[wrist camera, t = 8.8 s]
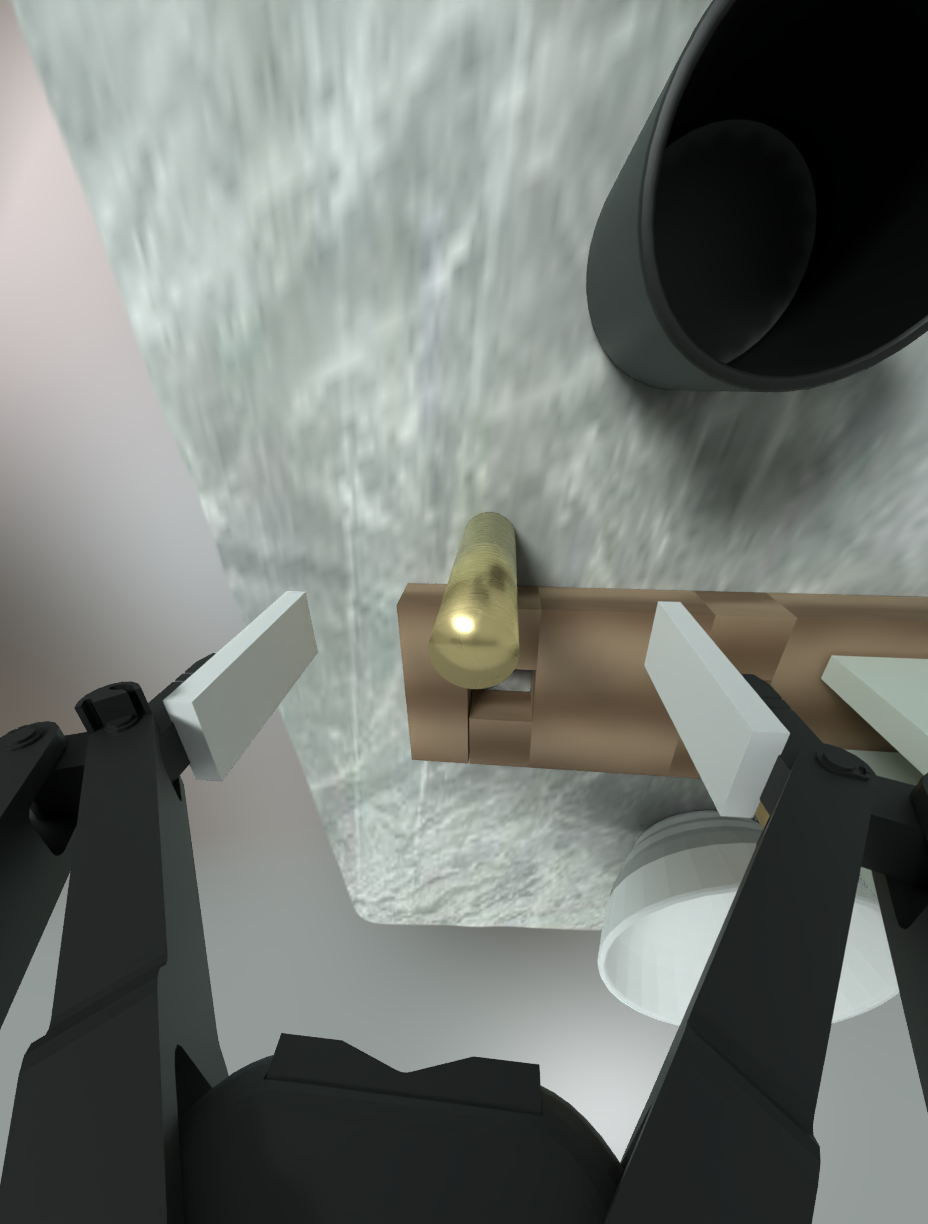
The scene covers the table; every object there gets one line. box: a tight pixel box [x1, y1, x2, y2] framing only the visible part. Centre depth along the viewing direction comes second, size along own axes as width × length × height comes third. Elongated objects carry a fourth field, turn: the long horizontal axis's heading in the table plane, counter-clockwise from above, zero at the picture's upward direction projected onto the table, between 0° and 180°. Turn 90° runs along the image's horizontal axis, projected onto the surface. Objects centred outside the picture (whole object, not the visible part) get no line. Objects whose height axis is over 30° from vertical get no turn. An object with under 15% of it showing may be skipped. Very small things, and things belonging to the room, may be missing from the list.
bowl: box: [597, 810, 900, 1026], centre depth 32 cm, size 19×19×8 cm
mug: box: [586, 0, 928, 392], centre depth 14 cm, size 9×12×9 cm
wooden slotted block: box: [397, 583, 928, 829], centre depth 22 cm, size 12×30×12 cm, turn 91°
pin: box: [428, 512, 519, 689], centre depth 19 cm, size 3×3×12 cm
